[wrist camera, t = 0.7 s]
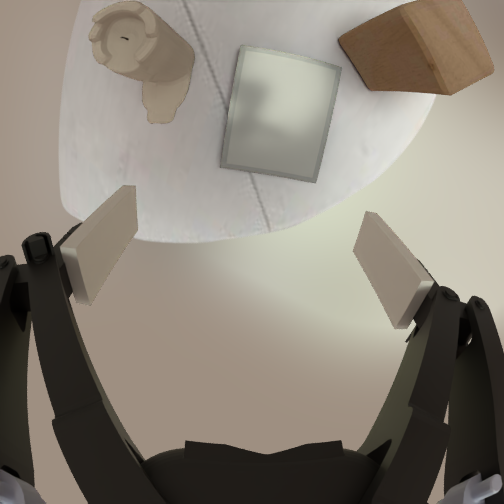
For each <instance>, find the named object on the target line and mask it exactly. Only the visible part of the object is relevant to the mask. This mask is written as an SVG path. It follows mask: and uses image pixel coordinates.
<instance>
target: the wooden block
mask: <svg viewBox="0 0 504 504" xmlns="http://www.w3.org/2000/svg"><path fill="white" fill-rule="evenodd" d="M339 43H340V45H341V46H342V47H343V49H344V50H345V52H346V53H347V55H348V56H349V58H350V59H351V61H352V62H353V64H354V66H355V67H356V69H357V70H358V72H359V74H360V75H361V77H362V79H363V80H364V82H365V84H366V85H367V87H368V88H369V89H370V90H371V91H403V92H420V93H432V94H441V95H452V94H455V93H456V92H458V91H460V90H462V89H464V88H466V87H467V86H470V85H471V84H473V83H475V82H477V81H479V80H481V79H483V78H485V77H487V76H489V75H491V74H492V73H493V72H494V65H493V62H492V60H491V58H490V55H489V53H488V50H487V48H486V46H485V44H484V41H483V39H482V37H481V35H480V33H479V31H478V29H477V27H476V25H475V23H474V21H473V20H472V18H471V16H470V14H469V12H468V10H467V9H466V7H465V5H464V3H463V2H462V0H417V1H413V2H409V3H406V4H402V5H400V6H398V7H396V8H393V9H391V10H389V11H387V12H385V13H383V14H381V15H379V16H377V17H375V18H373V19H371V20H369V21H367V22H365V23H363V24H361V25H359V26H358V27H356V28H354V29H352V30H350V31H349V32H347V33H345V34H343V35H342V36H341V37H340V38H339Z"/></svg>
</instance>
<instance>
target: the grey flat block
mask: <svg viewBox="0 0 504 504" xmlns="http://www.w3.org/2000/svg"><path fill="white" fill-rule="evenodd" d="M341 70H342V67H339V66H336V65H332V64H329V63H326V62H322V61H319V60H315V59H311V58H307V57H303V56H299V55H295V54H290V53H286V52H281V51H276V50H270V49H265V48H259V47H252V46H245V45H241V46H240V51H239V57H238V62H237V67H236V72H235V78H234V83H233V89H232V95H231V100H230V106H229V112H228V118H227V125H226V131H225V137H224V144H223V151H222V158H221V165H220V168H227V169H234V170H241V171H248V172H254V173H261V174H267V175H273V176H278V177H284V178H290V179H295V180H300V181H305V182H310V183H315V184H316V181H317V177H318V173H319V169H320V165H321V161H322V157H323V153H324V149H325V144H326V140H327V136H328V132H329V127H330V123H331V118H332V114H333V109H334V105H335V100H336V95H337V90H338V85H339V81H340V76H341Z"/></svg>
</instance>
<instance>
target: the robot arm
mask: <svg viewBox="0 0 504 504" xmlns="http://www.w3.org/2000/svg"><path fill="white" fill-rule="evenodd" d="M137 231H138V223H137V207H136V186H126V185H123V186H122V187H121V188H120V189H119V190H118V191H116V192H115V193H114V194H113V195H112V196H111V197H110V198H109V199H107V200H106V201H105V202H104V203H103V204H102V205H101V206H100V207H99V208H98V209H97V210H96V211H95V212H93V213H92V214H91V215H90V216H89V217H88V218H87V219H86V220H85V221H84V222H83V223H79V224H78V225H76V226H74V227H72V228H71V229H70V230H69V232H67V234H65V235H64V236H63V238H62V239H61V240H60V241H59V242H58V243H57V244H56V245H55V246H54V247H53V245H52V241H51V236H50V235H49V233H46V232H40V233H35V234H33V235H31V236H29V237H28V238H26V239H25V240H24V241H23V243H22V248H23V252H24V255H25V258H26V261H27V264H21V265H17V264H16V261H15V258H14V257H13V256H12V255H5V256H1V257H0V504H46V503H45V501H44V500H43V499H42V498H41V496H40V494H39V493H38V492H37V490H36V489H35V488H34V485H35V484H34V468H33V460H32V453H31V445H30V437H29V426H28V410H27V367H28V366H27V365H28V350H29V338H30V330H31V321H32V323H33V330H34V336H35V341H36V346H37V351H38V356H39V360H40V365H41V369H42V373H43V377H44V381H45V384H46V388H47V391H48V394H49V398H50V401H51V404H52V407H53V410H54V413H55V419H53V420H52V426H53V429H54V432H55V435H56V438H57V440H58V443H59V445H60V448H61V450H62V452H63V455H64V457H65V459H66V461H67V464H68V466H69V468H70V470H71V472H72V474H73V476H74V478H75V480H76V482H77V484H78V486H79V488H80V489H81V491H82V493H83V495H84V497H85V498H86V500H87V502H88V504H428V503H427V500H428V498H429V496H430V494H431V491H432V489H433V486H434V484H435V481H436V478H437V476H438V473H439V470H440V467H441V464H442V461H443V458H444V455H445V452H446V448H447V454H446V463H445V475H444V499H442V500H440V501H438V503H437V504H504V352H503V348H502V345H501V342H500V338H499V335H498V332H497V329H496V326H495V323H494V320H493V317H492V314H491V312H490V309H489V307H488V305H487V304H486V303H485V301H484V300H483V299H482V298H479V297H477V296H472V297H471V298H470V300H469V301H468V303H467V304H466V303H463V302H460V299H459V297H458V295H457V294H456V293H455V292H454V291H453V290H451V289H450V288H448V287H445V286H439V285H438V284H437V282H436V281H435V280H434V279H433V277H432V276H431V275H430V273H428V271H427V269H426V268H424V266H423V264H422V263H421V262H420V261H419V260H418V259H416V258H415V257H414V255H413V254H412V253H411V252H410V250H409V249H408V248H407V247H406V246H405V245H404V243H403V242H402V241H401V240H400V239H399V237H398V236H397V235H396V234H395V233H394V232H393V231H392V229H391V228H390V227H389V226H388V225H387V224H386V223H385V222H384V221H383V219H382V218H381V217H380V216H379V215H378V214H377V213H373V212H367V211H366V212H365V215H364V219H363V222H362V225H361V228H360V231H359V234H358V237H357V240H356V243H355V246H354V249H353V252H354V254H355V256H356V257H357V259H358V261H359V263H360V265H361V266H362V268H363V270H364V272H365V273H366V275H367V277H368V279H369V281H370V283H371V284H372V286H373V288H374V290H375V292H376V293H377V296H378V298H379V299H380V301H381V303H382V305H383V307H384V309H385V311H386V313H387V315H388V317H389V319H390V321H391V323H392V325H393V327H394V329H407V328H408V326H409V325H410V323H411V321H412V320H413V319H414V321H415V323H416V326H415V328H414V329H413V331H412V332H411V334H410V335H409V337H408V338H407V340H406V341H405V342H408V341H409V343H408V346H407V349H406V352H405V354H404V357H403V360H402V362H401V365H400V368H399V370H398V373H397V375H396V378H395V380H394V382H393V385H392V387H391V389H390V392H389V394H388V396H387V399H386V401H385V403H384V405H383V407H382V409H381V411H380V413H379V415H378V417H377V419H376V421H375V423H374V425H373V427H372V429H371V431H370V433H369V435H368V436H367V438H366V440H365V442H364V443H363V444H362V446H361V447H360V448H359V449H358V450H357V451H353V450H348V449H343V447H342V441H341V440H339V441H331V442H322V443H311V444H305V445H301V446H298V447H295V448H291V449H288V450H284V451H281V452H277V453H273V454H261V453H256V452H252V451H248V450H244V449H240V448H237V447H233V446H229V445H226V444H213V443H212V444H211V443H202V442H193V441H185V448H182V449H175V450H169V451H166V452H163V453H159V454H157V455H155V456H153V457H151V458H149V459H147V460H145V459H144V458H143V456H142V455H141V453H140V452H139V450H138V449H137V447H136V446H135V445H134V443H133V442H132V440H131V439H130V437H129V435H128V434H127V432H126V430H125V429H124V427H123V425H122V423H121V422H120V420H119V418H118V416H117V414H116V413H115V411H114V409H113V407H112V405H111V403H110V401H109V399H108V397H107V395H106V393H105V391H104V389H103V387H102V385H101V383H100V380H99V378H98V376H97V374H96V371H95V369H94V367H93V365H92V362H91V360H90V357H89V355H88V352H87V350H86V347H85V345H84V342H83V340H82V337H81V334H80V331H79V328H78V325H77V323H76V319H75V317H74V314H73V310H72V307H71V304H70V301H69V297H70V295H71V294H72V292H73V294H74V297H75V300H76V303H81V304H85V305H90V306H91V304H92V303H93V301H94V299H95V297H96V296H97V294H98V292H99V290H100V289H101V287H102V285H103V284H104V282H105V280H106V279H107V277H108V275H109V274H110V272H111V270H112V269H113V267H114V265H115V264H116V262H117V261H118V259H119V258H120V256H121V255H122V253H123V251H124V250H125V248H126V247H127V245H128V244H129V242H130V241H131V239H132V238H133V236H134V235H135V234H136V232H137ZM471 338H472V339H471ZM470 339H471V342H470V343H469V345H468V342H469V341H470ZM448 401H449V416H448V424H446V423H444V418H445V414H446V409H447V405H448Z"/></svg>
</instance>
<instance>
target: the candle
mask: <svg viewBox="0 0 504 504" xmlns="http://www.w3.org/2000/svg"><path fill="white" fill-rule="evenodd" d="M92 21H93V22H95V24H94V26H93V28H92V29H91V31H90V33H89V35H88V36H89V40H90V41H91V42H92V50H93V55H94V57H95V59H96V61H97V62H98V63H99V64H103V65H105V66H106V67H107V68H109V69H110V70H112V71H114V72H116V73H118V74H121V75H123V76H126V77H129V78H131V79H135V80H138V81H144V82H143V91H142V101H143V104H144V107H145V108H146V109H147V110H148V114H147V119H148V121H149V123H151V124H153V123H160V124H163V123H168V122H171V121H172V120H173V118H174V115H175V112H176V109H177V108H178V107H179V106H180V104H181V103H182V102H183V101H184V99H185V96H186V94H187V91H188V88H189V83H190V78H191V72H192V67H193V64H194V59H195V56H194V51H193V49H192V47H191V46H190V45H189V44H188V43H187V42H186V41H185V40H184V39H183V38H182V37H181V36H179V35H178V34H177V33H176V32H175V31H174V30H173V29H172V28H171V27H170V26H169V25H168V24H167V23H166V22H165V21H163V20H162V19H161V18H160V17H159V16H158V15H157V14H156V13H155V12H153V11H152V10H151V9H150V8H148V7H147V6H145V5H144V4H142V3H140V2H137V1H124V2H119V3H116V4H113V5H110V6H108V7H106V8H104V9H102V10H101V11H99V12H98V13H96V14H95V15H94V16H93V19H92Z"/></svg>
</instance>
